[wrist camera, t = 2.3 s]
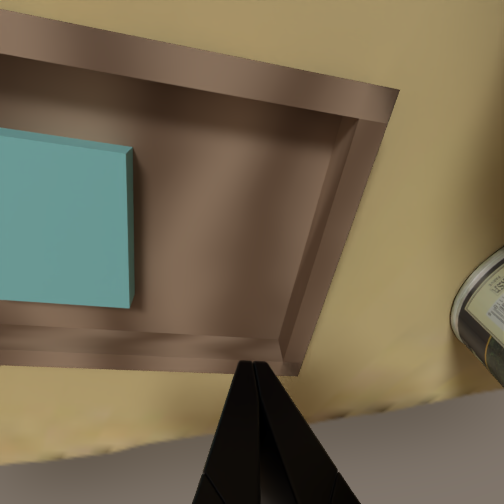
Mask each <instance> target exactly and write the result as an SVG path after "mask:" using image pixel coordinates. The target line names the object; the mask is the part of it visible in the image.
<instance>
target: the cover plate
mask: <svg viewBox="0 0 504 504" xmlns="http://www.w3.org/2000/svg"><path fill="white" fill-rule="evenodd" d="M134 295H135V280H134V207H133V147H129V146H122V145H115V144H109V143H102V142H95V141H88V140H82V139H75V138H68V137H61V136H54V135H48V134H41V133H34V132H27V131H20V130H14V129H7V128H0V300H12V301H26V302H41V303H56V304H71V305H86V306H100V307H115V308H130V306H131V303H132V300H133V298H134Z"/></svg>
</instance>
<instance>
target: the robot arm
mask: <svg viewBox="0 0 504 504" xmlns="http://www.w3.org/2000/svg"><path fill="white" fill-rule="evenodd" d="M337 472H338V470H337V468H336V466H335V465H334V463H333V462H332V460H331V459H330V457H329V456H328V454H327V452H326V451H325V449H324V448H323V446H322V445H321V443H320V442H319V440H318V439H317V437H316V436H315V434H314V433H313V431H312V430H311V428H310V427H309V425H308V424H307V422H306V421H305V419H304V417H303V416H302V414H301V413H300V411H299V410H298V408H297V407H296V405H295V404H294V402H293V401H292V399H291V398H290V396H289V395H288V393H287V392H286V390H285V389H284V387H283V386H282V384H281V382H280V381H279V379H278V378H277V376H276V375H275V373H274V372H273V370H272V369H271V367H270V366H269V364H268V363H267V362H266V361H253V362H252V361H250V360H240V361H239V362H238V364H237V367H236V370H235V373H234V377H233V380H232V383H231V386H230V389H229V392H228V395H227V398H226V401H225V404H224V408H223V411H222V414H221V417H220V420H219V423H218V426H217V429H216V432H215V435H214V439H213V442H212V445H211V448H210V451H209V454H208V457H207V460H206V463H205V467H204V469H203V474H202V475H201V478H200V481H199V485H198V488H197V491H196V494H195V496H194V499H193V502H192V504H361V503H360V502H359V501H358V499H357V497H356V496H355V495H354V493H353V492H352V491H351V489H350V487H349V486H348V484H347V483H346V481H345V480H344V478H343V477H342V475H341V474H340V473H339V472H338V473H337Z"/></svg>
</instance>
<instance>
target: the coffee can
mask: <svg viewBox="0 0 504 504" xmlns="http://www.w3.org/2000/svg"><path fill="white" fill-rule="evenodd" d="M451 325H452V329H453V331H454V333H455V335H456V337H457V338H458V339H459V340H460V341H461V342H462V343H464V344H465V345H466V346H467V347H468V348H469V349H470V350H471V351H472V353H473V354H474V355H475V356H476V357H477V358H478V359H479V360H480V361H481V363H482V364H483V365H484V366H485V367H486V368H487V369H488V371H489V372H490V373H491V374H492V375H493V376H494V377H495V378H496V379H497V380H498V382H499V383H500V384H501V385H502V386H503V387H504V247H503V248H501V249H499V250H498V251H497V252H496V253H494V254H493V255H492V256H491V257H489V258H488V259H487V260H486V261H484V262H483V263H482V264H481V265H480V266H479V267H478V268H477V269H476V270H475V271H474V272H473V273H472V274H471V275H470V276H469V277H468V279H467V280H466V282H465V283H464V284H463V286H462V287H461V289H460V291H459V293H458V294H457V296H456V298H455V300H454V305H453V307H452V311H451Z"/></svg>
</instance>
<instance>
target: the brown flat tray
mask: <svg viewBox="0 0 504 504" xmlns="http://www.w3.org/2000/svg"><path fill="white" fill-rule="evenodd" d="M399 91H400V90H398V89H393V88H388V87H383V86H378V85H374V84H369V83H364V82H359V81H354V80H349V79H344V78H339V77H334V76H329V75H324V74H319V73H314V72H309V71H304V70H299V69H294V68H289V67H285V66H280V65H275V64H270V63H265V62H260V61H255V60H250V59H245V58H240V57H235V56H230V55H225V54H220V53H215V52H210V51H205V50H200V49H196V48H191V47H186V46H181V45H176V44H171V43H166V42H161V41H156V40H151V39H146V38H141V37H136V36H131V35H126V34H121V33H116V32H111V31H107V30H102V29H97V28H92V27H87V26H82V25H77V24H72V23H67V22H62V21H57V20H52V19H47V18H42V17H37V16H32V15H27V14H22V13H18V12H13V11H8V10H3V9H0V128H7V129H14V130H20V131H27V132H34V133H41V134H48V135H54V136H61V137H68V138H75V139H82V140H88V141H95V142H102V143H109V144H115V145H122V146H129V147H133V207H134V280H135V295H134V298H133V300H132V303H131V306H130V308H115V307H100V306H86V305H71V304H56V303H41V302H26V301H12V300H0V365H9V366H36V367H63V368H89V369H116V370H143V371H170V372H196V373H223V374H234V373H235V370H236V367H237V364H238V362H239V361H240V360H250V361H252V362H253V361H266V362H267V363H268V364H269V366H270V367H271V369H272V370H273V372H274V373H275V375H276V376H298V374H299V371H300V368H301V366H302V363H303V360H304V357H305V354H306V352H307V349H308V346H309V343H310V340H311V338H312V335H313V332H314V329H315V326H316V324H317V321H318V318H319V315H320V312H321V310H322V307H323V304H324V301H325V298H326V296H327V293H328V290H329V287H330V284H331V282H332V279H333V276H334V273H335V270H336V268H337V265H338V262H339V259H340V256H341V254H342V251H343V248H344V245H345V242H346V240H347V237H348V234H349V231H350V228H351V226H352V223H353V220H354V217H355V214H356V212H357V209H358V206H359V203H360V200H361V198H362V195H363V192H364V189H365V186H366V183H367V181H368V178H369V175H370V172H371V169H372V167H373V164H374V161H375V158H376V155H377V153H378V150H379V147H380V144H381V141H382V139H383V136H384V133H385V130H386V127H387V125H388V122H389V119H390V116H391V113H392V111H393V108H394V105H395V102H396V99H397V97H398V94H399Z"/></svg>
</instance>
